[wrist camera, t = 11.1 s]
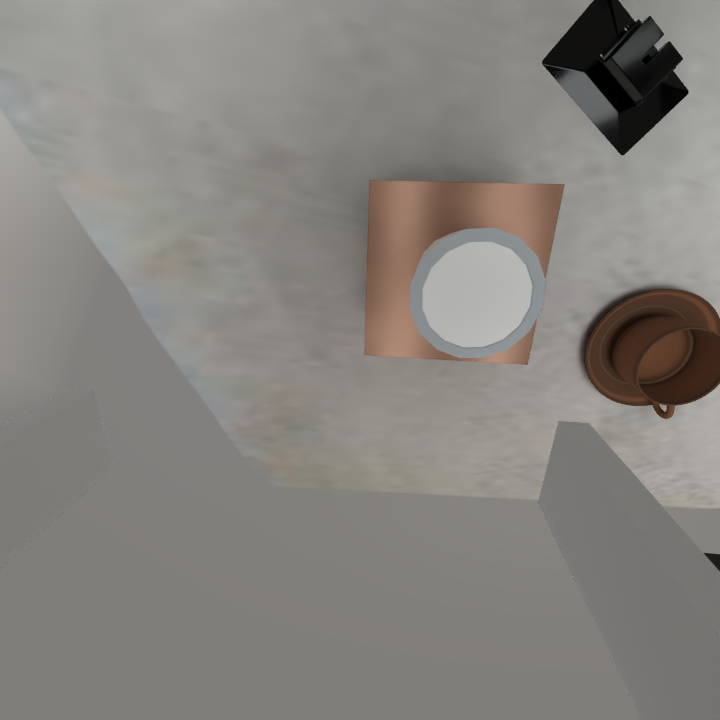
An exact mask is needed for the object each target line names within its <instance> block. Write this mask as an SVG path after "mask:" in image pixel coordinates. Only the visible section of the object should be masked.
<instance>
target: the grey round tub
mask: <svg viewBox="0 0 720 720" xmlns="http://www.w3.org/2000/svg"><path fill="white" fill-rule="evenodd" d="M545 286H546V280H545V277H544V274H543V271H542V267H541V264H540V261H539V258H538V256H537V255H536V254H535V253H534V252H533V251H532V250H531V249H530V248H529V247H528V245H527V244H526V243H525V242H524V241H523V240H522V239H521V238H520V237H517V236H515V235H512V234H510V233H507V232H504V231H502V230H499V229H497V228H477V229H464V230H461V231H457V232H454V233H450V234H448V235H446V236H444V237H442V238H440V239H437V240H435V241H434V242H433V243H432V244H431V245H430V246H429V247H428V248H427V249H426V250H425V252H424V253H423V254H422V257H421V259H420V261H419V264H418V266H417V269H416V272H415V274H414V277H413V280H412V283H411V286H410V312H411V314H412V317H413V319H414V321H415V324H416V326H417V328H418V330H419V333H420V334H421V335H422V336H423V337H424V338H425V339H426V340H427V341H428V342H429V343H431V344H432V345H433V346H434V347H435V348H436V349H437V350H439V351H442V352H445V353H447V354H450V355H453V356H455V357H458V358H486V357H488V356H491V355H494V354H496V353H499V352H502V351H504V350H507V349H509V348H511V347H512V346H513V345H514V344H515V343H517V342H518V341H519V340H520V339H521V338H522V337H524V336H525V335H526V334H527V333H528V332H530V330H531V328H532V326H533V324H534V323H535V321H536V319H537V317H538V316H539V314H540V312H541V310H542V309H543V302H544V294H545Z"/></svg>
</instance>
